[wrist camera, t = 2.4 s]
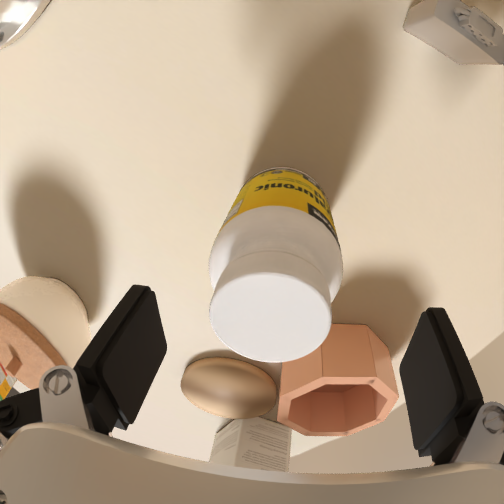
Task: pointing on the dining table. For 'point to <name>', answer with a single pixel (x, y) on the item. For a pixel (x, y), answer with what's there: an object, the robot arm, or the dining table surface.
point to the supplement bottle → (275, 268)
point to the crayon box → (5, 382)
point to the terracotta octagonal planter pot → (338, 384)
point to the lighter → (457, 31)
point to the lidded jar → (40, 327)
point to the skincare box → (253, 445)
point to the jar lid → (229, 388)
